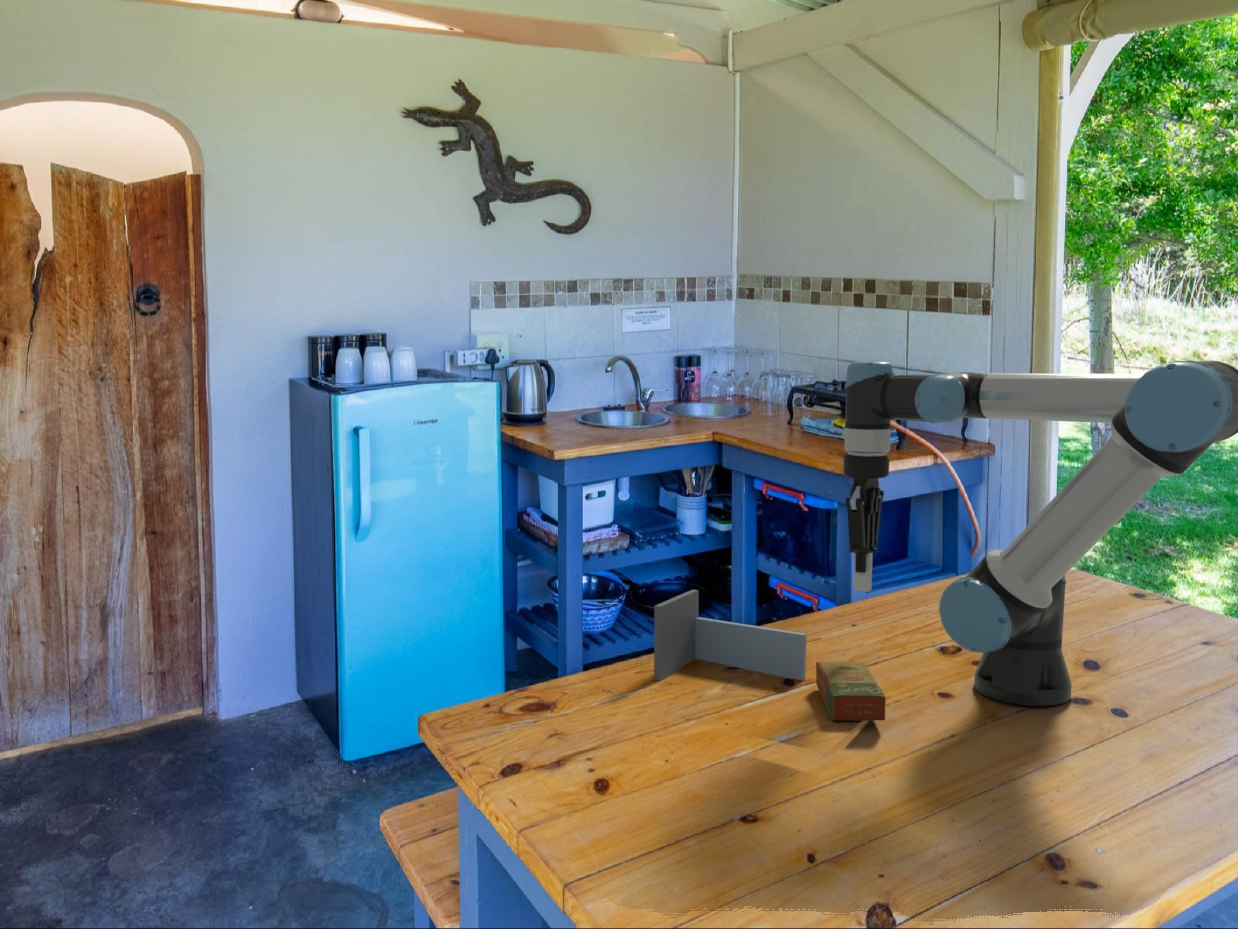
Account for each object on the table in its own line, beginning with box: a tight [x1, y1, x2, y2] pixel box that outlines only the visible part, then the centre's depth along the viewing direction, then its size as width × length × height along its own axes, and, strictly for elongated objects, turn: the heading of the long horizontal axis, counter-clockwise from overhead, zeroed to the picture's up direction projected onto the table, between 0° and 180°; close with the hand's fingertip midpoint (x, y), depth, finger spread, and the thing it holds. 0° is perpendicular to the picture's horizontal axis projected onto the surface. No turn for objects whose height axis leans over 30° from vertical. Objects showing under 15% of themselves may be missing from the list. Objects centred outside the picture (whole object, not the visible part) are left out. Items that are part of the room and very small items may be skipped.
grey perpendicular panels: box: [653, 589, 807, 682], centre depth 181 cm, size 22×14×13 cm, turn 58°
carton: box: [815, 661, 886, 722], centre depth 168 cm, size 8×16×4 cm, turn 179°
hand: (862, 589), depth 181 cm, fingers closed
